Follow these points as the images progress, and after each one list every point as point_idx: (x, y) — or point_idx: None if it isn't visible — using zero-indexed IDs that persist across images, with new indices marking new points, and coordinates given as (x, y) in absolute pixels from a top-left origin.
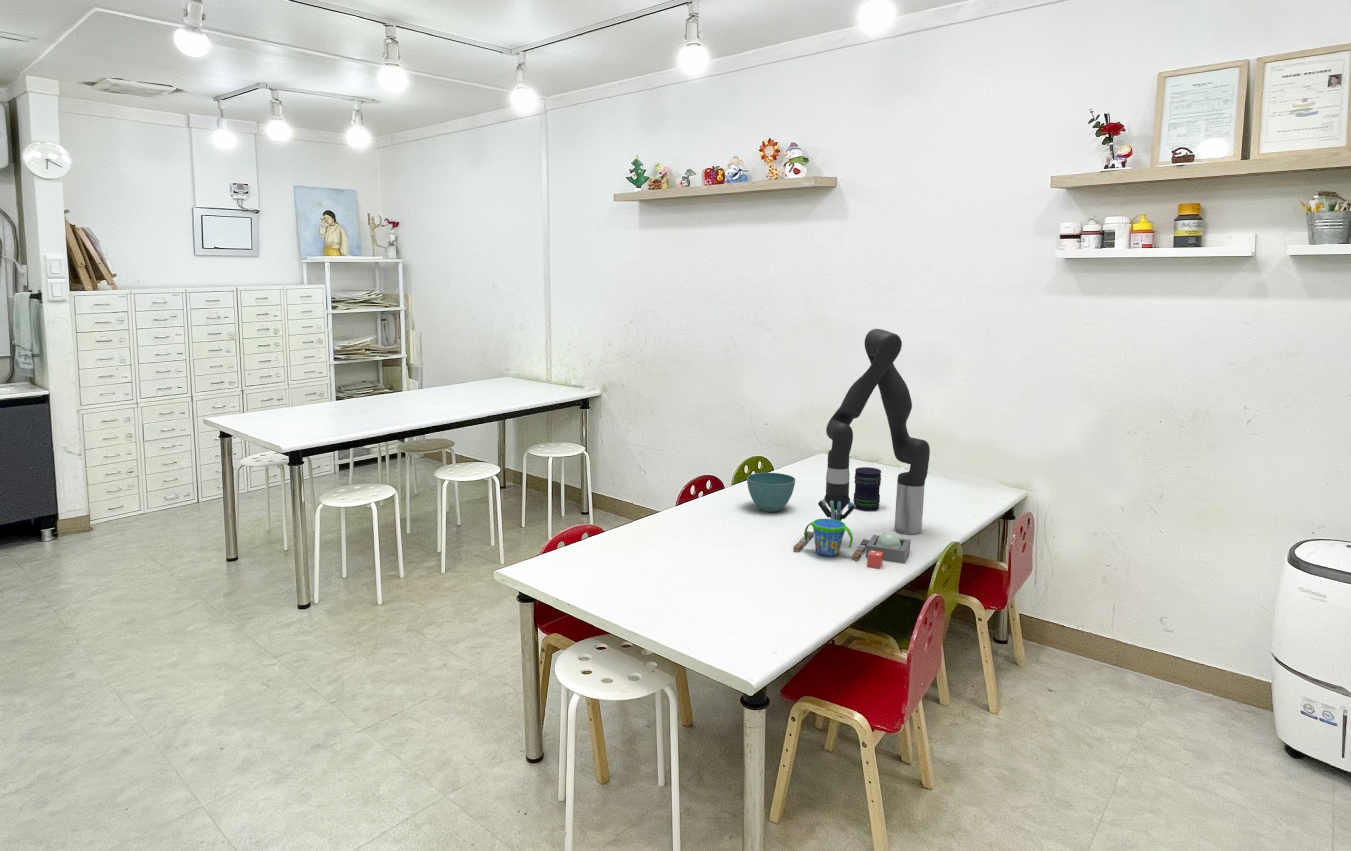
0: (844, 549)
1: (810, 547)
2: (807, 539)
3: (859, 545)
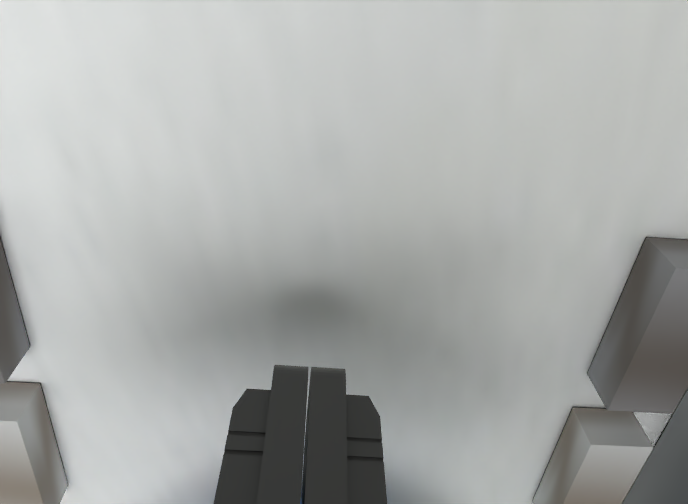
0: (431, 447)
1: (128, 490)
2: (32, 454)
3: (589, 457)
